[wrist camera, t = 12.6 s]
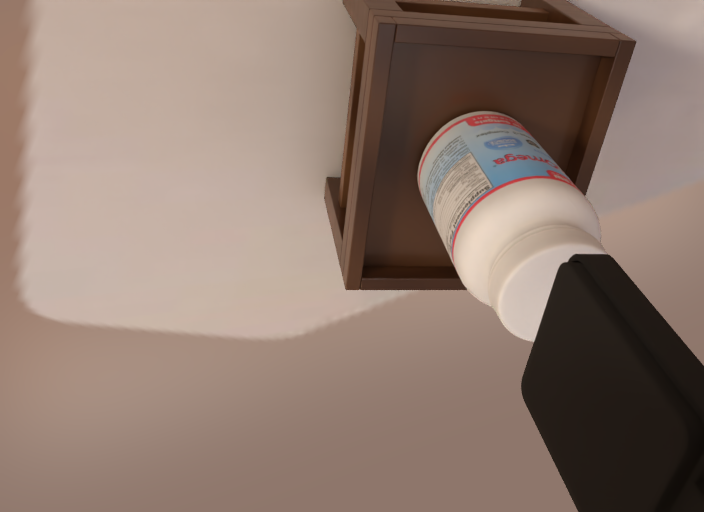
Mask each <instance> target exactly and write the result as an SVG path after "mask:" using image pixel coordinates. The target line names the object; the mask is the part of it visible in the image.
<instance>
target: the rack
mask: <svg viewBox="0 0 704 512" xmlns="http://www.w3.org/2000/svg"><path fill="white" fill-rule="evenodd" d="M343 4H344V6H345V8H346V10H347V11H348V13H349V15H350V17H351V19H352V20H353V22H354V24H355V26H356V28H357V32H356V41H355V50H354V60H353V69H352V78H351V88H350V97H349V106H348V115H347V125H346V134H345V143H344V153H343V162H342V171H341V178H330V177H327V178H326V187H325V197H324V199H325V203H326V208H327V212H328V216H329V220H330V225H331V229H332V233H333V238H334V242H335V246H336V251H337V255H338V259H339V264H340V268H341V272H342V276H343V280H344V285H345V289H346V290H359V289H360V290H467V288H466V287H465V286H464V284H463V283H462V281H461V279H460V277H459V275H458V273H457V271H456V269H455V267H454V265H453V263H452V261H451V258H450V256H449V254H448V252H447V250H446V247H445V245H444V243H443V241H442V239H441V237H440V235H439V233H438V230H437V228H436V226H435V224H434V222H433V220H432V217H431V216H430V213H429V211H428V209H427V207H426V205H425V203H424V200H423V198H422V196H421V193H420V190H419V186H418V167H419V163H420V160H421V157H422V155H423V152H424V150H425V148H426V146H427V145H428V143H429V142H430V140H431V139H432V137H433V136H434V135H435V134H436V133H437V132H438V131H439V130H440V129H441V128H442V127H443V126H444V125H445V124H447V123H448V122H450V121H451V120H453V119H455V118H457V117H459V116H462V115H465V114H468V113H472V112H478V111H492V112H498V113H501V114H504V115H507V116H509V117H511V118H513V119H515V120H516V121H517V122H519V123H520V124H521V125H522V126H523V127H524V128H525V129H526V130H527V131H528V132H529V133H530V134H531V135H532V137H533V138H534V139H535V140H536V141H537V142H538V143H539V145H540V146H541V147H542V148H543V149H544V150H545V151H546V153H547V154H548V155H549V156H550V157H551V158H552V159H553V161H554V162H555V163H556V164H557V165H558V166H559V167H560V169H561V170H562V171H563V172H564V173H565V174H566V175H567V176H568V178H569V179H570V180H571V181H572V182H573V184H574V185H575V186H576V187H577V188H578V189H579V190H580V191H581V192H582V194H583V195H584V196H585V195H586V192H587V189H588V186H589V183H590V180H591V177H592V174H593V171H594V168H595V165H596V162H597V159H598V156H599V153H600V150H601V147H602V144H603V141H604V138H605V135H606V132H607V129H608V126H609V123H610V120H611V117H612V114H613V111H614V108H615V105H616V102H617V99H618V96H619V92H620V89H621V86H622V83H623V80H624V77H625V74H626V71H627V68H628V65H629V62H630V59H631V56H632V53H633V50H634V47H635V44H636V41H635V40H633V39H632V38H630V37H628V36H626V35H625V34H622V33H621V32H619V31H617V30H616V29H614V28H612V27H610V26H609V25H607V24H605V23H604V22H602V21H600V20H599V19H597V18H595V17H593V16H592V15H590V14H588V13H587V12H585V11H583V10H581V9H580V8H578V7H576V6H575V5H573V4H571V3H569V2H568V1H566V0H522V2H521V6H520V7H516V6H503V5H490V4H478V3H465V2H453V1H440V0H343Z"/></svg>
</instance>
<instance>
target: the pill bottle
mask: <svg viewBox="0 0 704 512" xmlns="http://www.w3.org/2000/svg"><path fill="white" fill-rule="evenodd" d="M418 186H419V190H420V193H421V196H422V198H423V200H424V203H425V205H426V207H427V209H428V211H429V213H430V216H431V217H432V220H433V222H434V224H435V226H436V228H437V230H438V233H439V235H440V237H441V239H442V241H443V243H444V245H445V247H446V250H447V252H448V254H449V256H450V258H451V261H452V263H453V265H454V267H455V269H456V271H457V273H458V275H459V277H460V279H461V281H462V283H463V284H464V286H465V287H466V288H467V290H468V291H469V292H470V293H471V294H472V295H473V296H474V297H475V298H477V299H478V300H479V301H481V302H483V303H485V304H486V305H488V306H491V307H493V309H494V310H495V312H496V313H497V315H498V317H499V318H500V320H501V322H502V324H503V325H504V326H505V327H506V329H507V330H509V331H510V332H511V333H512V334H514V335H515V336H517V337H519V338H522V339H524V340H528V341H532V342H534V341H535V338H536V335H537V332H538V329H539V325H540V322H541V319H542V316H543V313H544V310H545V307H546V304H547V301H548V298H549V295H550V292H551V289H552V286H553V283H554V280H555V277H556V274H557V271H558V268H559V266H560V265H561V264H562V263H564V262H568V260H569V259H570V257H571V256H572V255H574V254H607V252H606V251H605V249H604V248H603V246H602V245H601V229H600V223H599V220H598V217H597V214H596V212H595V210H594V208H593V207H592V205H591V204H590V202H589V201H588V200H587V199H586V197H585V196H584V195H583V194H582V192H581V191H580V190H579V189H578V188H577V187H576V186H575V185H574V184H573V182H572V181H571V180H570V179H569V178H568V176H567V175H566V174H565V173H564V172H563V171H562V170H561V169H560V167H559V166H558V165H557V164H556V163H555V162H554V161H553V159H552V158H551V157H550V156H549V155H548V154H547V153H546V151H545V150H544V149H543V148H542V147H541V146H540V145H539V143H538V142H537V141H536V140H535V139H534V138H533V137H532V135H531V134H530V133H529V132H528V131H527V130H526V129H525V128H524V127H523V126H522V125H521V124H520V123H519V122H517V121H516V120H515V119H513V118H511V117H509V116H507V115H504V114H501V113H498V112H492V111H478V112H472V113H468V114H465V115H462V116H459V117H457V118H455V119H453V120H451V121H450V122H448V123H447V124H445V125H444V126H443V127H442V128H441V129H440V130H439V131H438V132H437V133H436V134H435V135H434V136H433V137H432V139H431V140H430V142H429V143H428V145H427V146H426V148H425V150H424V152H423V155H422V157H421V160H420V163H419V167H418ZM607 255H608V254H607Z"/></svg>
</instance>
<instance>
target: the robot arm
mask: <svg viewBox="0 0 704 512" xmlns="http://www.w3.org/2000/svg"><path fill="white" fill-rule="evenodd" d="M521 389H522V395H523V399H524V401H525V403H526V406H527V408H528V410H529V412H530V414H531V416H532V418H533V420H534V422H535V424H536V426H537V428H538V430H539V432H540V434H541V436H542V438H543V440H544V442H545V444H546V446H547V448H548V451H549V452H550V455H551V457H552V459H553V461H554V463H555V465H556V467H557V469H558V471H559V473H560V475H561V477H562V479H563V481H564V483H565V485H566V487H567V489H568V491H569V493H570V496H571V498H572V500H573V501H574V504H575V506H576V508H577V510H578V512H704V366H703V365H702V363H701V362H700V361H699V360H698V359H697V357H696V356H695V355H694V354H693V353H692V351H691V350H690V349H689V348H688V347H687V345H686V344H685V343H684V342H683V341H682V340H681V338H680V337H679V336H678V335H677V334H676V332H675V331H674V330H673V329H672V328H671V326H670V325H669V324H668V323H667V322H666V320H665V319H664V318H663V317H662V316H661V315H660V313H659V312H658V311H657V310H656V309H655V307H654V306H653V305H652V304H651V303H650V302H649V300H648V299H647V298H646V297H645V295H644V294H643V293H642V292H641V291H640V290H639V288H638V287H637V286H636V285H635V284H634V282H633V281H632V280H631V279H630V278H629V277H628V275H627V274H626V273H625V272H624V271H623V269H622V268H621V267H620V266H619V265H618V263H617V262H616V261H615V260H614V259H613V258H612V257H611V256H610V255H607V254H574V255H572V256H571V257H570V259H569V260H568V262H564V263H562V264H561V265H560V266H559V268H558V271H557V274H556V277H555V280H554V283H553V286H552V289H551V292H550V295H549V298H548V301H547V304H546V307H545V310H544V313H543V316H542V319H541V322H540V325H539V329H538V332H537V335H536V338H535V341H534V344H533V347H532V350H531V353H530V356H529V359H528V362H527V365H526V368H525V371H524V374H523V377H522V383H521Z"/></svg>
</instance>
